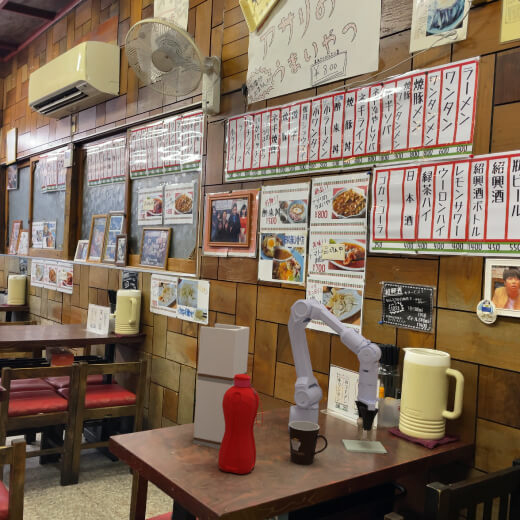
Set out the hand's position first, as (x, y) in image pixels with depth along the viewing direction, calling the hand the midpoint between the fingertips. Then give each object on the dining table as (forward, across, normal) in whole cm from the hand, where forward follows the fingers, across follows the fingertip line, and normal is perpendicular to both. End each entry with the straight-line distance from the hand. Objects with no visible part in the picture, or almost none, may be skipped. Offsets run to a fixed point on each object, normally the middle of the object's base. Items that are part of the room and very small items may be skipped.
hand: (365, 427), depth 168 cm
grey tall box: (+6, -3, +45) cm, 46 cm away
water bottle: (+6, -23, +38) cm, 45 cm away
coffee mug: (+6, -16, +20) cm, 26 cm away
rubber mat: (+6, 0, 0) cm, 6 cm away
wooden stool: (+4, 0, 0) cm, 4 cm away
